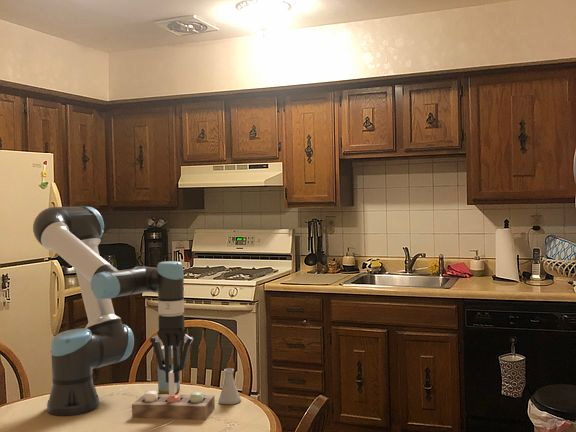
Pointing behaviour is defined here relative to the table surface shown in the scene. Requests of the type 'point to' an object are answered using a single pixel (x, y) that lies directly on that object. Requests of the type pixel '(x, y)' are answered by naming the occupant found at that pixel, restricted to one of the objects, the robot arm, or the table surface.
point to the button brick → (173, 398)
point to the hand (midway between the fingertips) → (172, 393)
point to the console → (173, 408)
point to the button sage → (196, 397)
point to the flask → (229, 389)
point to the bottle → (162, 384)
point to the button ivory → (151, 396)
